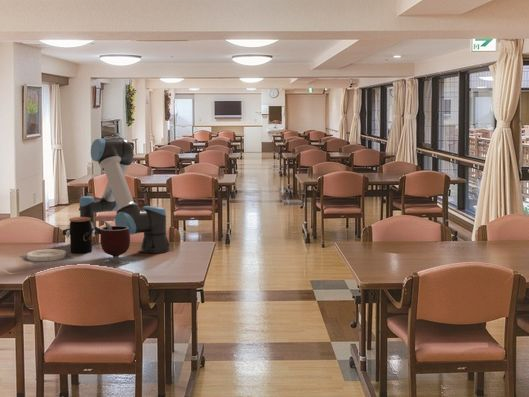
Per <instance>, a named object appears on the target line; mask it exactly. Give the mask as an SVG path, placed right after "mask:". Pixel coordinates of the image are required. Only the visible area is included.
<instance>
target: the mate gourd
mask: <svg viewBox="0 0 529 397" xmlns="http://www.w3.org/2000/svg"><path fill="white" fill-rule="evenodd" d="M102 222H103V223H104V224H105V226H104V227H101V228H100V229H101V234H100V246H101V249H102V250H103V252H104V254H107V255H110V256H112V259H108V260H104V261H103V262H102V265H104V266H107V267H120V266H125V265H128V264H130V261H129V260H127V259H123V258H120V256H121V255H123V254H125V253H127V251H128V250H129V249H130V244H131V235H130V232H129V227H126V226H116V225H111V224H110V223H109V222H108V221H106V220H102Z"/></svg>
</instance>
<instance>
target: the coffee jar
mask: <svg viewBox="0 0 529 397" xmlns="http://www.w3.org/2000/svg"><path fill="white" fill-rule="evenodd" d="M90 220H91V218H90V217H80V216H76V217H70V218H69V228H70V236H69V240H70V242H69V244H70V253H71V254H74V255H83V254H84V255H85V254H90V253H91V252H93V243H92V241H93V240H92V239H93V237H92V233H91V222H90Z"/></svg>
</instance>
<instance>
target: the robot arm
mask: <svg viewBox="0 0 529 397" xmlns="http://www.w3.org/2000/svg"><path fill="white" fill-rule="evenodd" d="M134 156H135V155H134V147H133V145H132V143H131V142H130V140H127V139H126V138H123V137H110V138H107V137H106V138H105V137H104V138H103V137H102V138H96V139H95V140H93V141H92V144H91V146H90V157H91V160H92V161H94V162H98V165H99V167H100V168H102V169H103V171H104V174H105V176H106V178H107V183H106V186H105V189H104V191H103V194H102V196H101V198H95V197H94V196H90V195H85V196H81V197H79V203H78V204H79V217H90V218H91V220H90V222H91V237H92V238H94V237H95V236H97V235H101V230H102V229H101V228H99V227H98V226H96V222H95V214H98V213H105V212H106V213H107V212H114V211H116V212H115V213H116V214H115V217H114V224H115V225H114V226H126V227H129V232H130V236H131V235H136V234H140V233H143V237H142V242H141V246H140V252H142V253H145V254H147V253H148V254H162V253H167V252H170V251H171V244H170V242H169V239H168V236H167V210H166V208H165V207H162V206H150V205H145V206H143V207H142V209H140V206H139V204H138V203H135V201H134V198H133V196H132V193H131V190H130V188H129V185H128V181H127V179H126V177H125V176H126V173H127V171H128V168H129V166H131V165H132V163H133V159H134ZM62 236H65V237H66V239H67V238H70V227H69V228H65V229H62Z"/></svg>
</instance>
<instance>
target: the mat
mask: <svg viewBox="0 0 529 397" xmlns="http://www.w3.org/2000/svg"><path fill="white" fill-rule="evenodd" d="M19 258H22V259H24V260H26V261H28V262H30V263H32V264H35V265H36V264H42V263H49V262H57V261H65V260H73V259H74V257H73V256H70V255H68V254H66V256H65V258H62V259H58V260H51V261H32V260H29V259H27V254H26V255H19Z"/></svg>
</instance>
